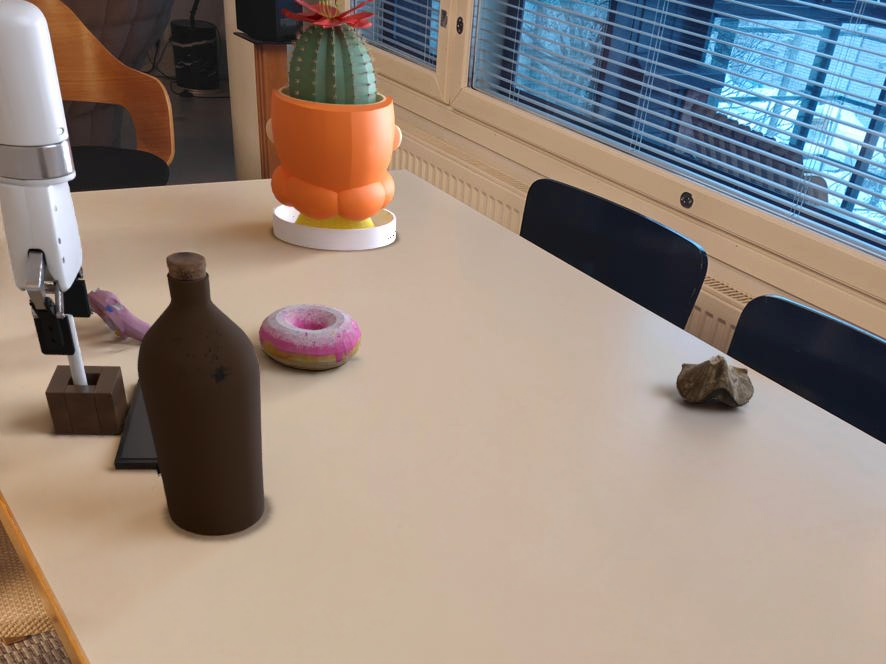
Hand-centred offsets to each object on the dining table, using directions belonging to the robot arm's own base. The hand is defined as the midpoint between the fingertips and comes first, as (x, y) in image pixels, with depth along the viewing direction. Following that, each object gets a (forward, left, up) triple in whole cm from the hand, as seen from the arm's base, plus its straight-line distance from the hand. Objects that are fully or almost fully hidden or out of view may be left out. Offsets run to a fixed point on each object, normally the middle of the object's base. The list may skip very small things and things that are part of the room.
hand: (68, 334), depth 95 cm
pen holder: (+1, 0, -10) cm, 10 cm away
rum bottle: (+16, -19, -10) cm, 27 cm away
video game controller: (+1, +24, -10) cm, 26 cm away
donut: (+26, +19, -10) cm, 34 cm away
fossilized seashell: (+79, +7, -10) cm, 80 cm away
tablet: (+10, -1, -10) cm, 14 cm away
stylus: (0, 0, -10) cm, 10 cm away
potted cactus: (+31, +67, -10) cm, 74 cm away
